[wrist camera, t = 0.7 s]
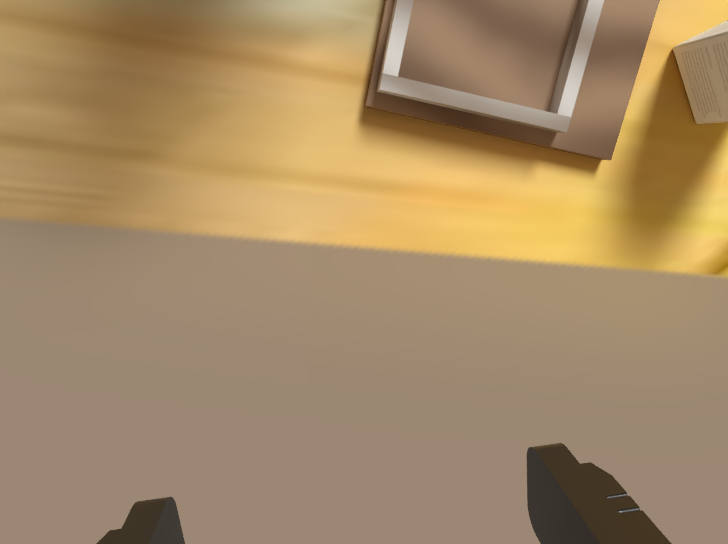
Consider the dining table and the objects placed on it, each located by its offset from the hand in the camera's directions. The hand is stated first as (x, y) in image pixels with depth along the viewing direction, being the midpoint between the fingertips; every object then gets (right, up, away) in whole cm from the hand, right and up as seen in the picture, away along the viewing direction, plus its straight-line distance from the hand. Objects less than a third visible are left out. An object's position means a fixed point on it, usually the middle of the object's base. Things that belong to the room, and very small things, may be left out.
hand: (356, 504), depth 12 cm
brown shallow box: (+10, +22, +24) cm, 34 cm away
